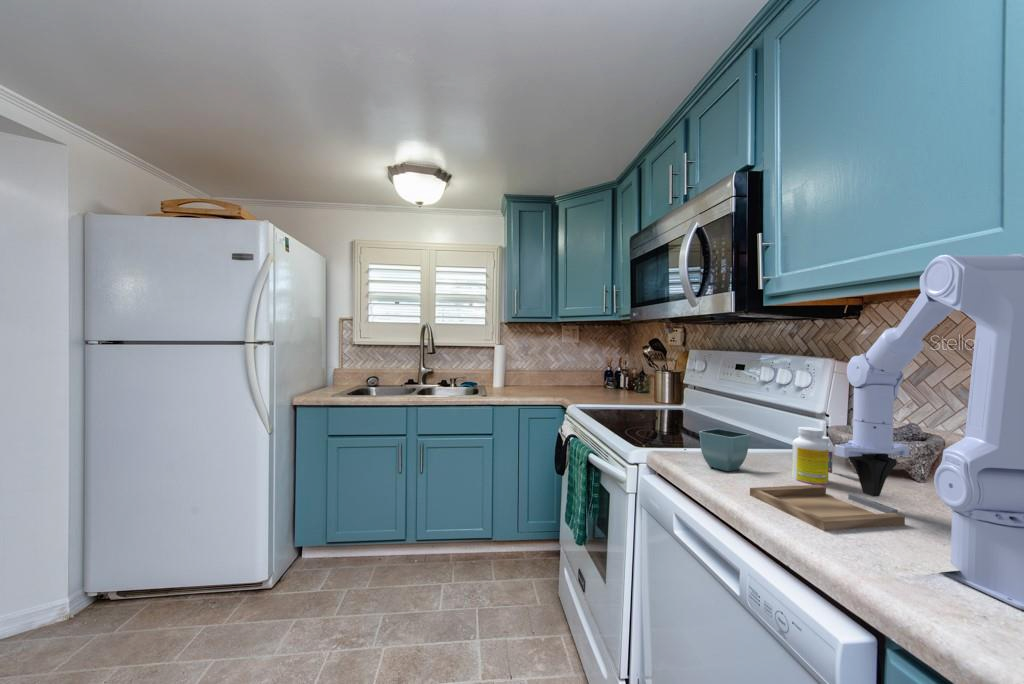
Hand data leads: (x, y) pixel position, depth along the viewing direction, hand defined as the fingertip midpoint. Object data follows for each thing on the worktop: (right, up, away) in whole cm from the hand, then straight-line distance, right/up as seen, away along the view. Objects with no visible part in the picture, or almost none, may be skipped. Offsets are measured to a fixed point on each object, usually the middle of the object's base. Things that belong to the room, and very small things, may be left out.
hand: (871, 494), depth 80 cm
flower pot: (-14, -4, +28) cm, 31 cm away
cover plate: (+3, -4, 0) cm, 5 cm away
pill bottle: (+9, -4, +26) cm, 28 cm away
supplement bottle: (-1, -4, +15) cm, 16 cm away
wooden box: (-11, -3, -2) cm, 12 cm away
